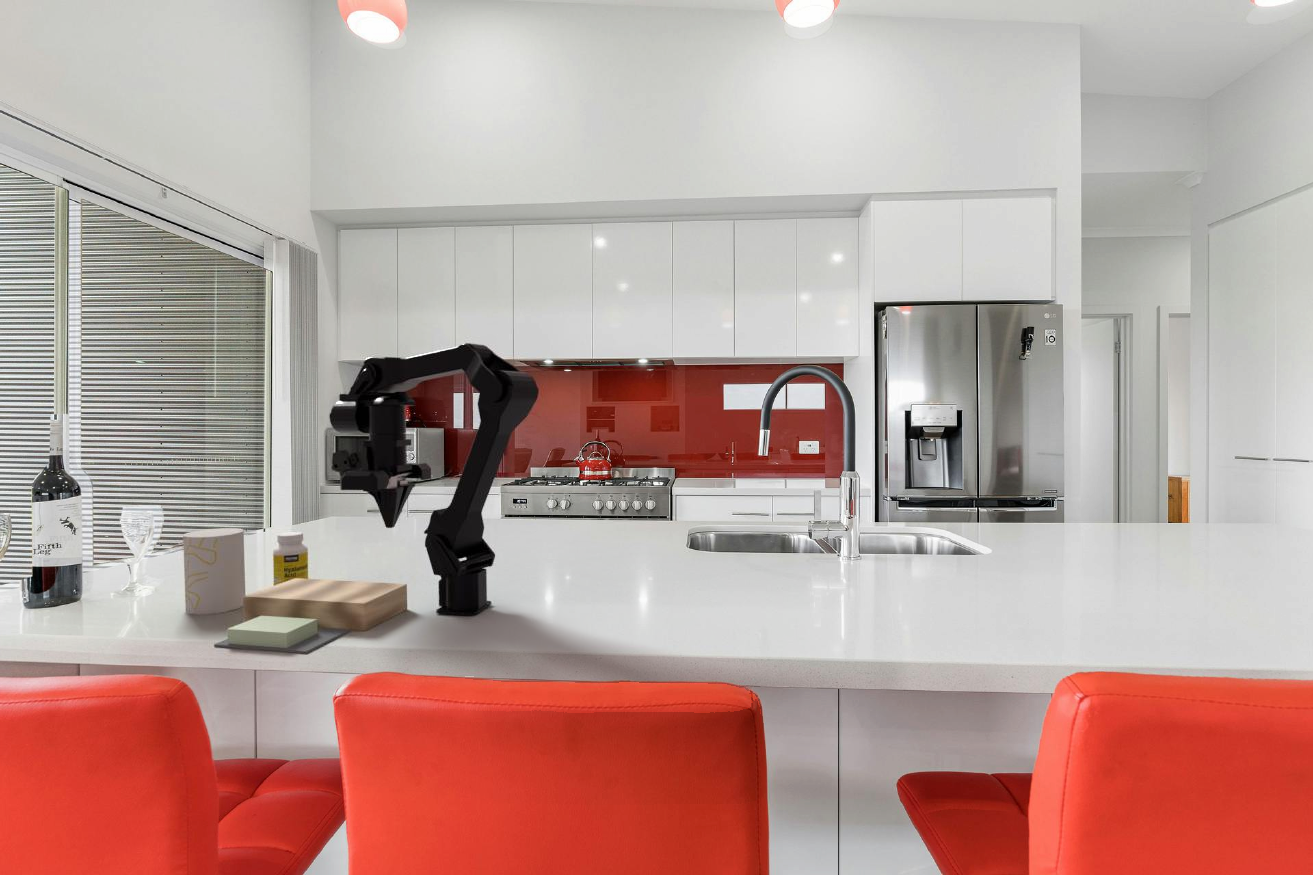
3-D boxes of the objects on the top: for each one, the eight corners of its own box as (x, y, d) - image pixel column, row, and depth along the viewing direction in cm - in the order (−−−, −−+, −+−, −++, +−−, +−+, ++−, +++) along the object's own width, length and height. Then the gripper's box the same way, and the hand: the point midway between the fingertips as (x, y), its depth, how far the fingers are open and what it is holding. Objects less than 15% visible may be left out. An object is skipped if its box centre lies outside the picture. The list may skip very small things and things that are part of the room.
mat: (350, 631, 99) (350, 629, 99) (306, 653, 90) (306, 651, 90) (264, 625, 102) (264, 623, 101) (214, 646, 93) (214, 644, 93)
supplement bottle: (282, 594, 118) (281, 537, 118) (268, 589, 122) (266, 534, 121) (314, 587, 123) (313, 532, 122) (299, 583, 126) (298, 529, 126)
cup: (174, 609, 110) (172, 534, 109) (226, 597, 117) (224, 526, 116) (204, 617, 106) (202, 539, 105) (256, 603, 113) (254, 530, 112)
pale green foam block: (286, 632, 91) (286, 647, 91) (317, 619, 97) (317, 633, 97) (227, 628, 93) (227, 643, 93) (261, 615, 99) (261, 629, 99)
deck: (407, 609, 110) (406, 583, 109) (364, 631, 99) (364, 603, 99) (296, 602, 114) (295, 578, 113) (243, 622, 103) (243, 596, 103)
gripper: (373, 432, 125) (375, 518, 126) (306, 436, 107) (310, 537, 107) (431, 431, 124) (433, 518, 124) (374, 436, 105) (377, 538, 106)
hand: (390, 527), depth 115 cm, fingers closed
